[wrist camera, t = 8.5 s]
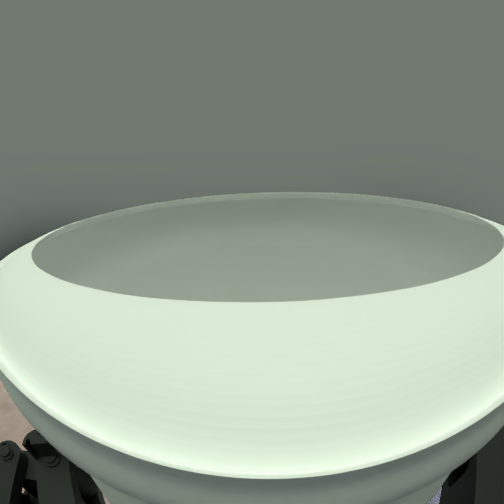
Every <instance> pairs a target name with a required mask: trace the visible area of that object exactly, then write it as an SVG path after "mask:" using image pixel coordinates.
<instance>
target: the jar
mask: <svg viewBox="0 0 504 504" xmlns="http://www.w3.org/2000/svg"><path fill="white" fill-rule="evenodd" d="M0 378H1V380H2V382H3V384H4V386H5V388H6V390H7V392H8V393H9V395H10V397H11V398H12V400H13V401H14V403H15V404H16V406H17V407H18V409H19V410H20V411H21V413H22V414H23V415H24V416H25V418H26V419H27V420H28V421H29V422H30V424H31V425H32V426H33V427H34V428H35V429H36V430H37V431H38V432H39V433H40V434H41V435H42V436H43V437H44V438H45V439H46V440H47V441H48V442H49V443H50V444H51V445H52V446H53V447H54V448H55V449H57V450H58V451H59V452H60V453H61V454H62V455H64V456H65V457H66V458H67V459H69V460H70V461H71V462H73V463H74V464H75V465H77V466H78V467H79V468H81V469H82V470H84V471H85V472H86V473H88V474H90V476H91V477H92V479H93V480H94V482H95V483H96V485H97V486H98V487H99V489H100V490H101V491H102V493H103V494H104V495H105V496H106V498H107V499H108V500H109V501H110V502H111V504H427V503H428V502H429V501H430V500H431V499H432V498H433V496H434V495H435V494H436V493H437V491H438V490H439V489H440V487H441V486H442V485H443V483H444V482H445V480H446V479H447V477H448V476H449V474H450V473H451V471H453V470H454V469H456V468H457V467H459V466H460V465H462V464H463V463H464V462H466V461H467V460H468V459H469V458H471V457H472V456H473V455H474V454H476V453H477V452H478V451H479V450H480V449H481V448H482V447H484V446H485V445H486V444H487V443H488V442H489V441H490V440H491V439H492V438H493V437H494V436H495V435H496V434H497V433H498V431H499V430H500V429H501V428H502V427H503V426H504V226H503V225H500V224H498V223H495V222H492V221H490V220H487V219H484V218H481V217H478V216H476V215H473V214H470V213H466V212H463V211H459V210H456V209H452V208H448V207H444V206H440V205H435V204H430V203H426V202H420V201H414V200H408V199H401V198H393V197H385V196H384V197H383V196H375V195H362V194H348V193H326V192H325V193H324V192H274V193H273V192H270V193H246V194H231V195H217V196H207V197H198V198H189V199H180V200H173V201H166V202H159V203H153V204H147V205H142V206H136V207H131V208H127V209H122V210H118V211H113V212H110V213H105V214H101V215H98V216H94V217H91V218H87V219H84V220H81V221H78V222H75V223H72V224H69V225H67V226H64V227H61V228H59V229H56V230H54V231H52V232H50V233H48V234H45V235H44V236H42V237H40V238H38V239H36V240H34V241H32V242H30V243H28V244H26V245H24V246H23V247H21V248H19V249H17V250H15V251H14V252H12V253H11V254H10V255H8V256H7V257H5V258H4V259H3V260H2V261H0Z"/></svg>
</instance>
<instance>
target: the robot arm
mask: <svg viewBox="0 0 504 504" xmlns="http://www.w3.org/2000/svg"><path fill="white" fill-rule="evenodd" d="M22 445H23V446H24V447H25V448H26V450H27V451H23V450H21V449H20V448H19V446H18V445H17V444H16V443H15V442H13V441H3V442H1V443H0V504H105V501H104V498H103V494H102V492H101V490H100V489H99V487H98V486H97V485H96V483H95V482H94V480H93V479H92V477H91V476H90V474H88V473H86V472H85V471H84V470H82V469H81V468H79V467H78V466H77V465H75V464H74V463H73V462H71V461H70V460H69V459H67V458H66V457H65V456H64V455H62V454H61V453H60V452H59V451H58V450H57V449H55V448H54V447H53V446H52V445H51V444H50V443H49V442H48V441H47V440H46V439H45V438H44V437H43V436H42V435H41V434H40V433H39V432H38V431H37V430H33V431H31V432H30V433H28V434H27V435H26V437H25V438H24V440H23V444H22ZM22 487H23V488H24V489H25V491H24V493H23V494H22V493H21V492H22ZM439 504H504V426H503V427H502V428H501V429H500V430H499V431H498V433H497V434H496V435H495V436H494V437H493V438H492V439H491V440H490V441H489V442H488V443H487V444H486V445H485V446H484V447H482V448H481V449H480V450H479V451H478V452H477V453H476V454H474V455H473V456H472V457H471V458H469V459H468V460H467V461H466V462H464V463H463V464H462V465H460V466H459V467H457V468H456V469H454V470H453V471H451V473H450V474H449V476H448V477H447V479H446V480H445V482H444V483H443V485H442V491H441V497H440V503H439Z"/></svg>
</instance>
